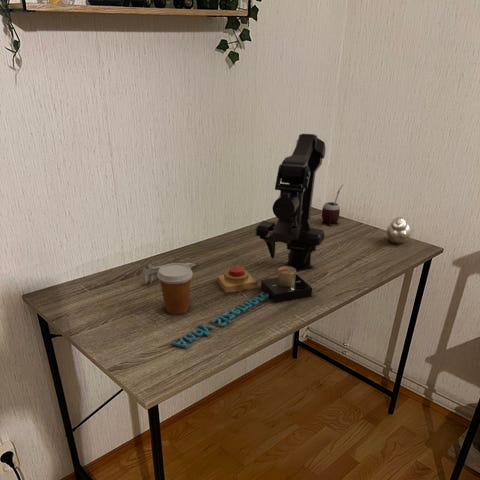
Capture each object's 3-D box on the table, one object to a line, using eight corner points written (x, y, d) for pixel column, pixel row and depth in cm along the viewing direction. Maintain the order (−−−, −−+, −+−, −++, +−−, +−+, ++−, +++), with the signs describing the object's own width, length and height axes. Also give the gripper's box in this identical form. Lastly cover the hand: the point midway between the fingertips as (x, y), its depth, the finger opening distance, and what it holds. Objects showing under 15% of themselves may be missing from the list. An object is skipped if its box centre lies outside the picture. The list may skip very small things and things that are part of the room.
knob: (290, 278, 149) (291, 264, 146) (298, 285, 145) (299, 271, 142) (274, 281, 147) (275, 266, 145) (282, 288, 143) (283, 273, 141)
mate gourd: (320, 225, 199) (324, 188, 192) (321, 219, 206) (324, 183, 198) (339, 226, 198) (343, 189, 191) (339, 220, 205) (343, 184, 197)
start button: (240, 270, 152) (240, 265, 151) (245, 276, 149) (245, 271, 148) (227, 272, 151) (227, 267, 150) (232, 278, 147) (232, 273, 146)
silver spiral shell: (378, 241, 185) (383, 215, 179) (396, 236, 189) (400, 211, 184) (397, 249, 178) (402, 222, 173) (414, 244, 183) (420, 218, 178)
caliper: (146, 285, 151) (144, 266, 147) (143, 284, 151) (142, 265, 148) (196, 266, 163) (195, 248, 160) (193, 265, 164) (193, 247, 161)
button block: (246, 277, 156) (246, 265, 154) (256, 288, 150) (256, 276, 148) (216, 282, 153) (216, 270, 151) (225, 293, 147) (225, 281, 145)
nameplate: (168, 343, 123) (182, 351, 120) (168, 341, 122) (182, 348, 119) (260, 293, 147) (273, 298, 144) (260, 290, 146) (273, 296, 144)
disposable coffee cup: (180, 320, 133) (177, 280, 127) (153, 310, 137) (149, 271, 131) (200, 306, 140) (199, 267, 134) (174, 297, 144) (172, 259, 138)
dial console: (295, 282, 153) (296, 273, 152) (311, 296, 145) (312, 287, 144) (260, 288, 150) (261, 279, 148) (274, 303, 142) (275, 293, 140)
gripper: (248, 212, 131) (247, 265, 139) (316, 222, 125) (311, 277, 133) (263, 200, 140) (261, 251, 148) (327, 209, 134) (322, 262, 142)
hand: (287, 260), depth 142 cm, fingers open, 9 cm apart
